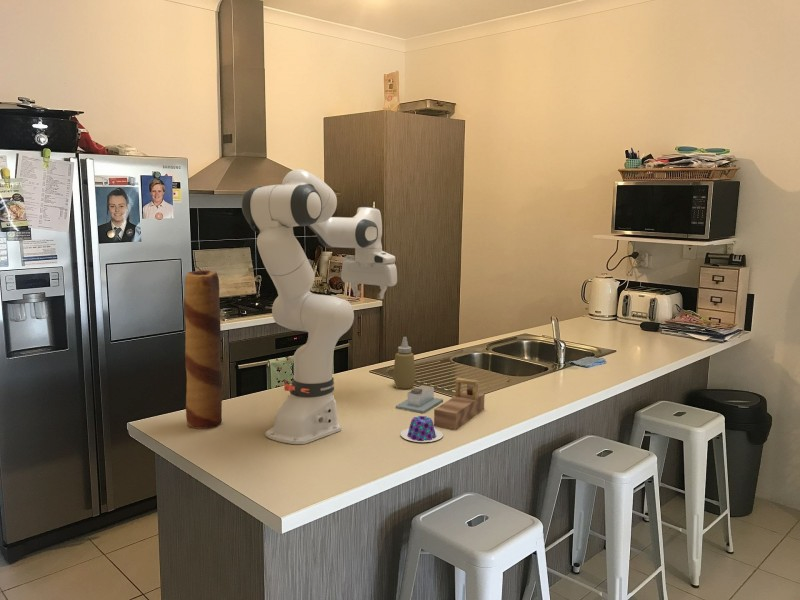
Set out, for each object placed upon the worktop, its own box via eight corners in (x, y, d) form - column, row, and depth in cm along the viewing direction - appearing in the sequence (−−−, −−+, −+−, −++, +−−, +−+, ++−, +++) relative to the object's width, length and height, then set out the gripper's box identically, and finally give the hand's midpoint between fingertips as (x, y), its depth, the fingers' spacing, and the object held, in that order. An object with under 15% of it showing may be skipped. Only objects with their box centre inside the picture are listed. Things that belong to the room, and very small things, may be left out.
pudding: (450, 440, 182) (450, 422, 181) (411, 447, 177) (411, 428, 176) (430, 426, 193) (431, 409, 192) (393, 432, 188) (393, 415, 187)
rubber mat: (423, 413, 203) (423, 411, 203) (395, 408, 208) (395, 405, 208) (443, 401, 215) (443, 399, 215) (416, 396, 220) (416, 394, 220)
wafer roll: (231, 419, 196) (226, 270, 189) (211, 431, 186) (205, 274, 179) (200, 416, 199) (195, 269, 192) (179, 427, 189) (173, 273, 182)
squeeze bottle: (400, 382, 237) (400, 333, 234) (419, 385, 233) (420, 336, 230) (388, 387, 230) (388, 337, 227) (408, 391, 226) (409, 340, 223)
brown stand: (455, 429, 190) (456, 394, 188) (433, 425, 193) (434, 390, 191) (484, 408, 209) (485, 376, 207) (463, 405, 212) (464, 373, 210)
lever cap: (419, 407, 207) (419, 392, 206) (407, 404, 209) (407, 390, 208) (433, 398, 216) (433, 384, 215) (421, 396, 218) (422, 382, 217)
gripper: (337, 255, 218) (337, 296, 221) (389, 258, 208) (389, 301, 211) (348, 253, 224) (348, 293, 226) (399, 257, 214) (399, 299, 216)
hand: (368, 297), depth 218 cm, fingers open, 8 cm apart
